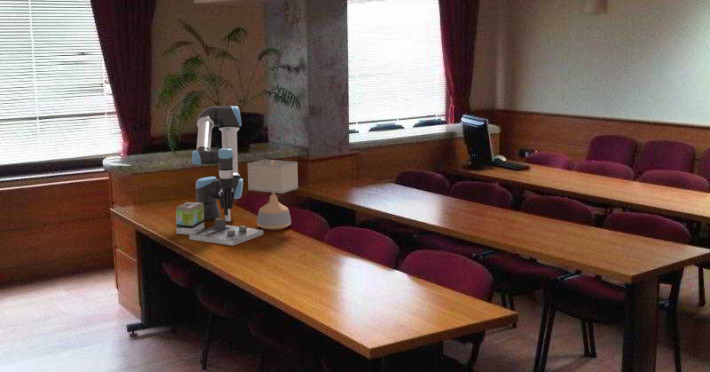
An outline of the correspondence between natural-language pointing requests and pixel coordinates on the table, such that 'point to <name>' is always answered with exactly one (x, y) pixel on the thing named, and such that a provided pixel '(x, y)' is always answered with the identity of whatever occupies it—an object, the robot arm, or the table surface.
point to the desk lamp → (273, 190)
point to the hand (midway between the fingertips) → (227, 220)
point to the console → (226, 235)
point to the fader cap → (220, 223)
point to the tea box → (190, 217)
